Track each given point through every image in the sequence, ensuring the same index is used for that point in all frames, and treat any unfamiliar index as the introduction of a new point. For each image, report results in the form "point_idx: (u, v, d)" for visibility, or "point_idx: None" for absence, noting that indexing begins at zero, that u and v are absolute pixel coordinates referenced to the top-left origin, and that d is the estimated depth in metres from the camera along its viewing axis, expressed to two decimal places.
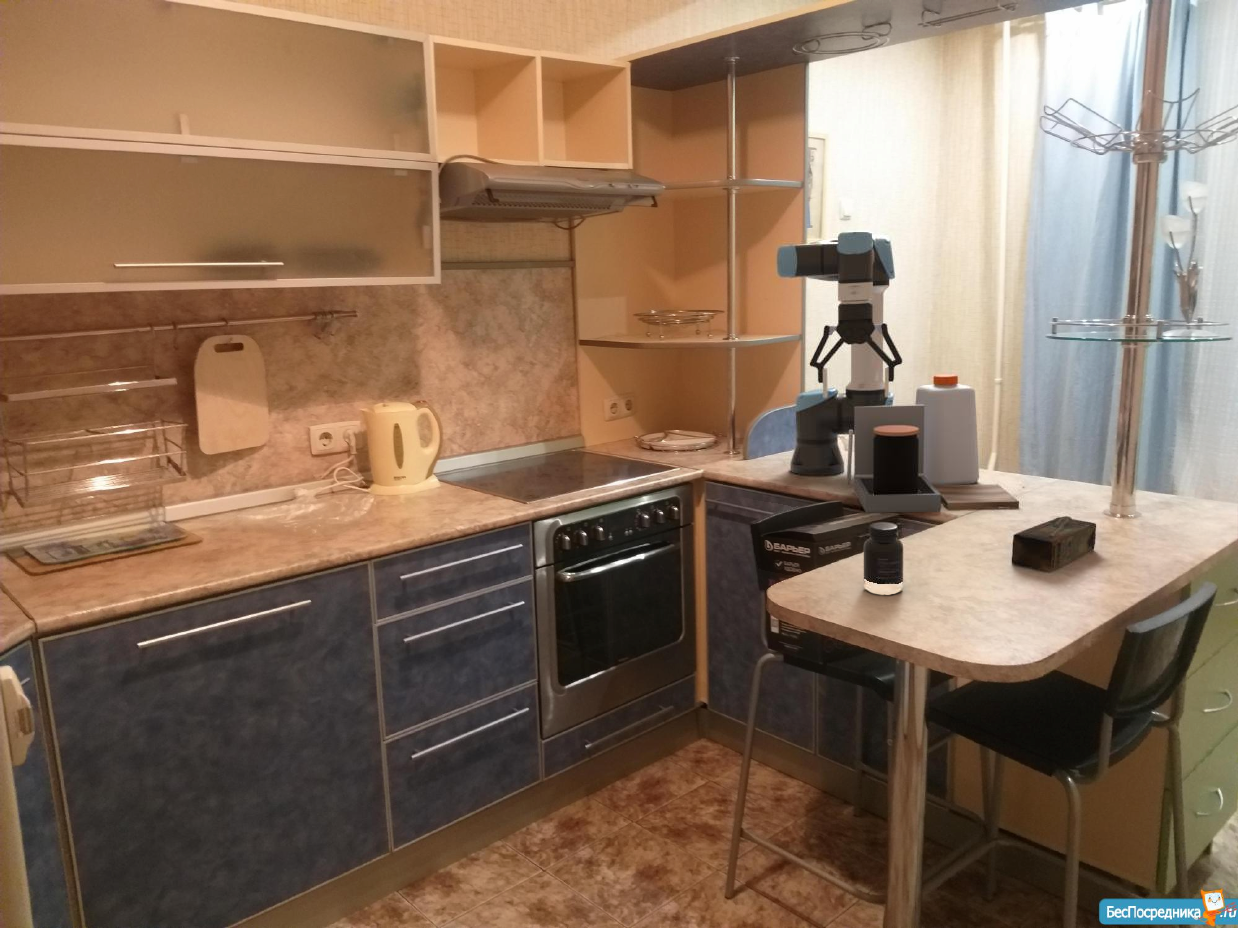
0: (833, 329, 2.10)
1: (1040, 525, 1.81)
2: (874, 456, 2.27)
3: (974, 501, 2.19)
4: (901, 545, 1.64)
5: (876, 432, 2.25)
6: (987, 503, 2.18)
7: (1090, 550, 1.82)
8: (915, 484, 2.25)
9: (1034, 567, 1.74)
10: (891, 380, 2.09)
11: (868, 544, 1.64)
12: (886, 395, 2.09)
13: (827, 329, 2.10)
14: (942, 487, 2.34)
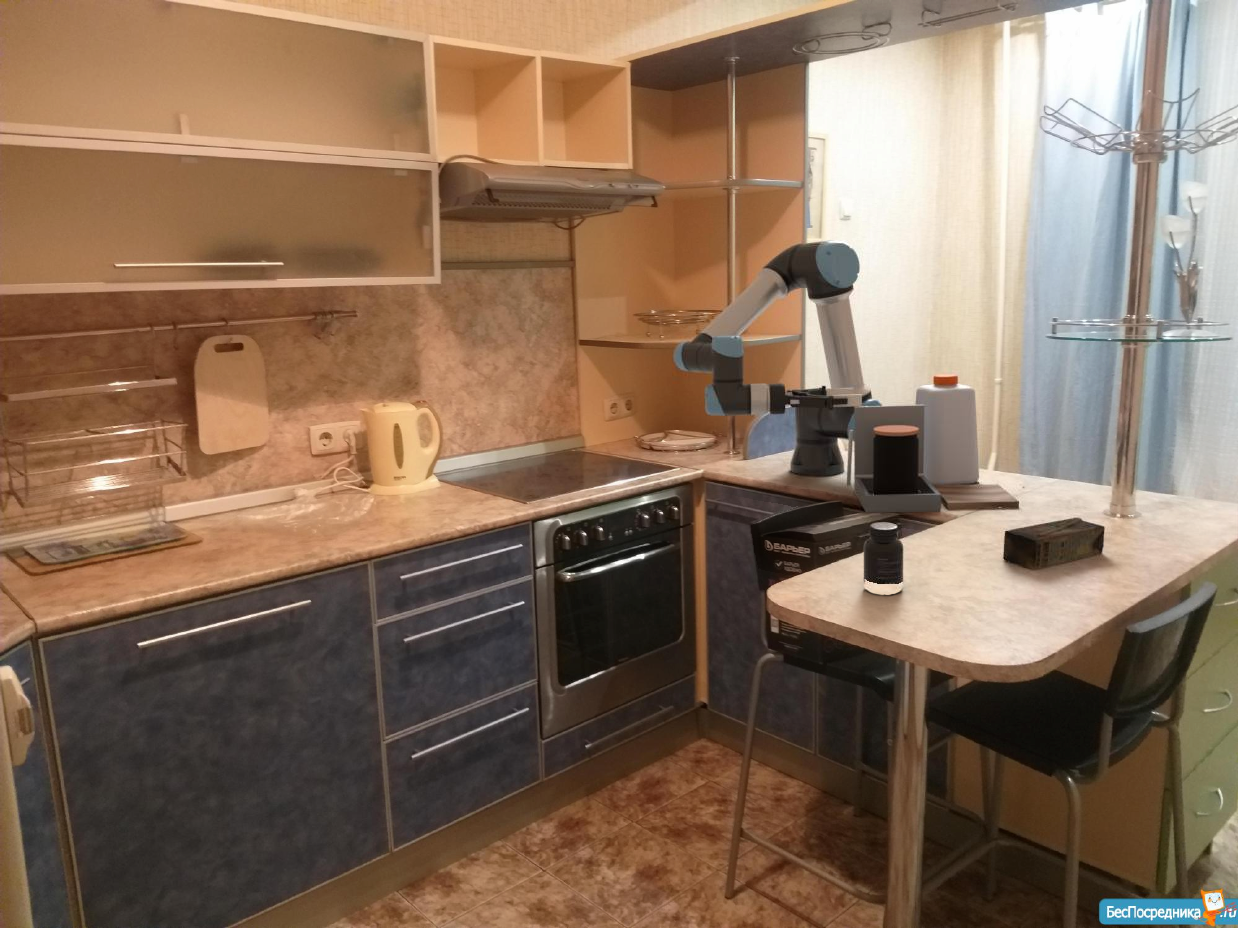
0: None
1: (1041, 524, 1.82)
2: (874, 456, 2.27)
3: (974, 501, 2.19)
4: (901, 545, 1.64)
5: (876, 432, 2.25)
6: (987, 503, 2.18)
7: (1096, 553, 1.80)
8: (915, 484, 2.25)
9: (1021, 564, 1.76)
10: (846, 404, 2.19)
11: (868, 544, 1.64)
12: None
13: None
14: (942, 487, 2.34)
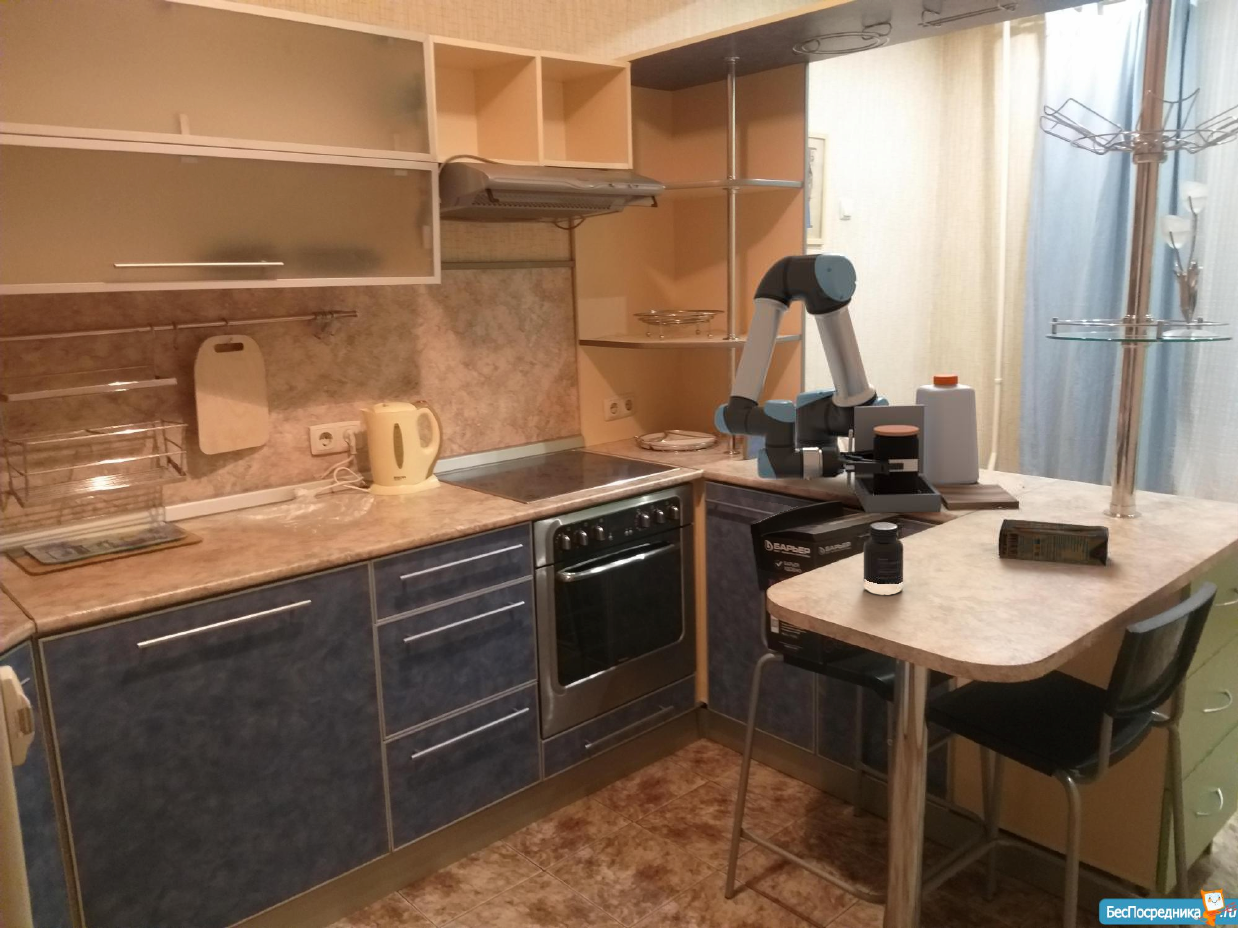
0: None
1: (1053, 523, 1.82)
2: (874, 456, 2.27)
3: (974, 501, 2.19)
4: (901, 545, 1.64)
5: (876, 432, 2.25)
6: (987, 503, 2.18)
7: (1096, 563, 1.74)
8: (915, 484, 2.25)
9: None
10: None
11: (868, 544, 1.64)
12: None
13: None
14: (942, 487, 2.34)
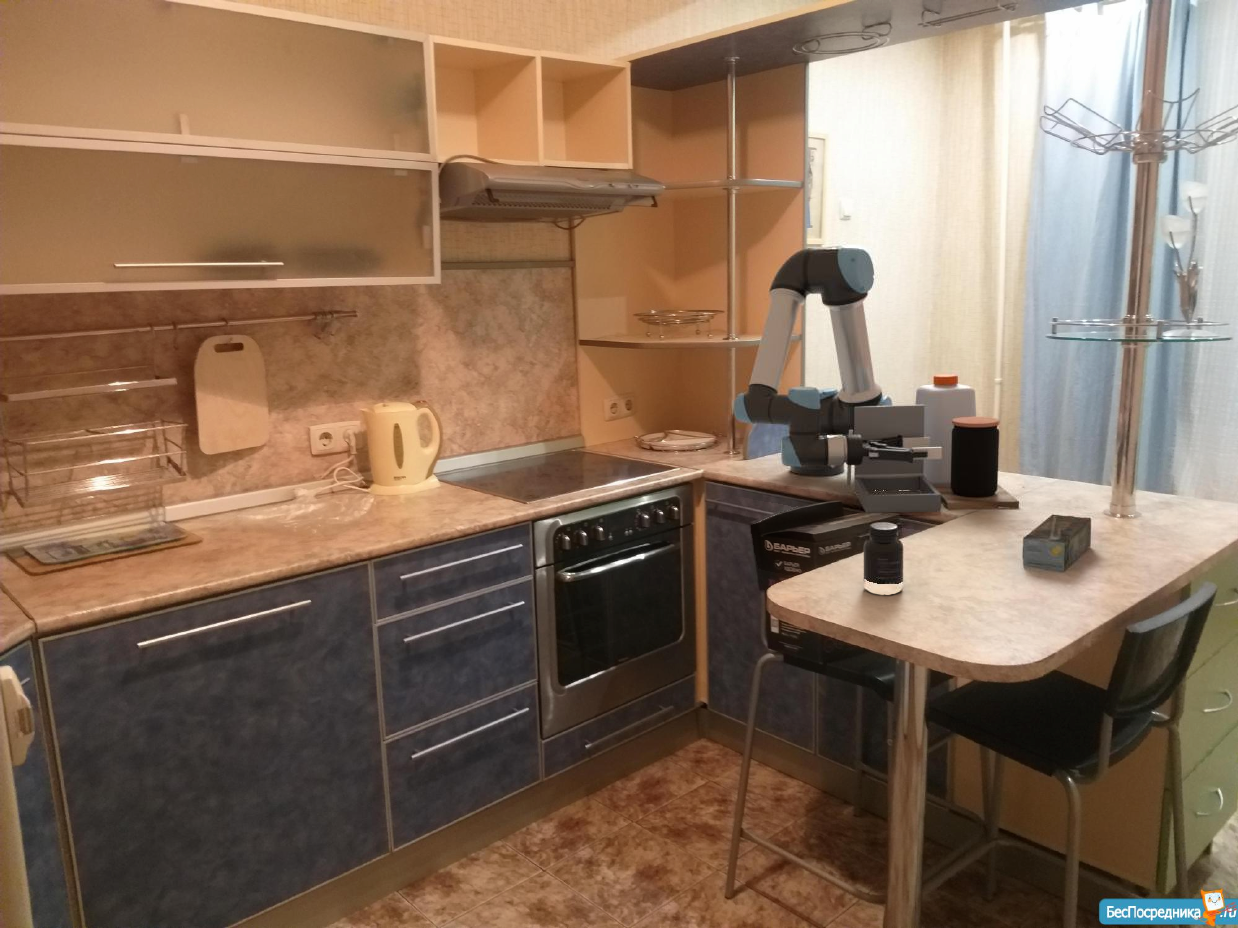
0: None
1: (1074, 528, 1.78)
2: (953, 448, 2.24)
3: (974, 501, 2.19)
4: (901, 545, 1.64)
5: (956, 423, 2.22)
6: (987, 503, 2.18)
7: None
8: (995, 476, 2.22)
9: None
10: None
11: (868, 544, 1.64)
12: None
13: None
14: (942, 487, 2.34)
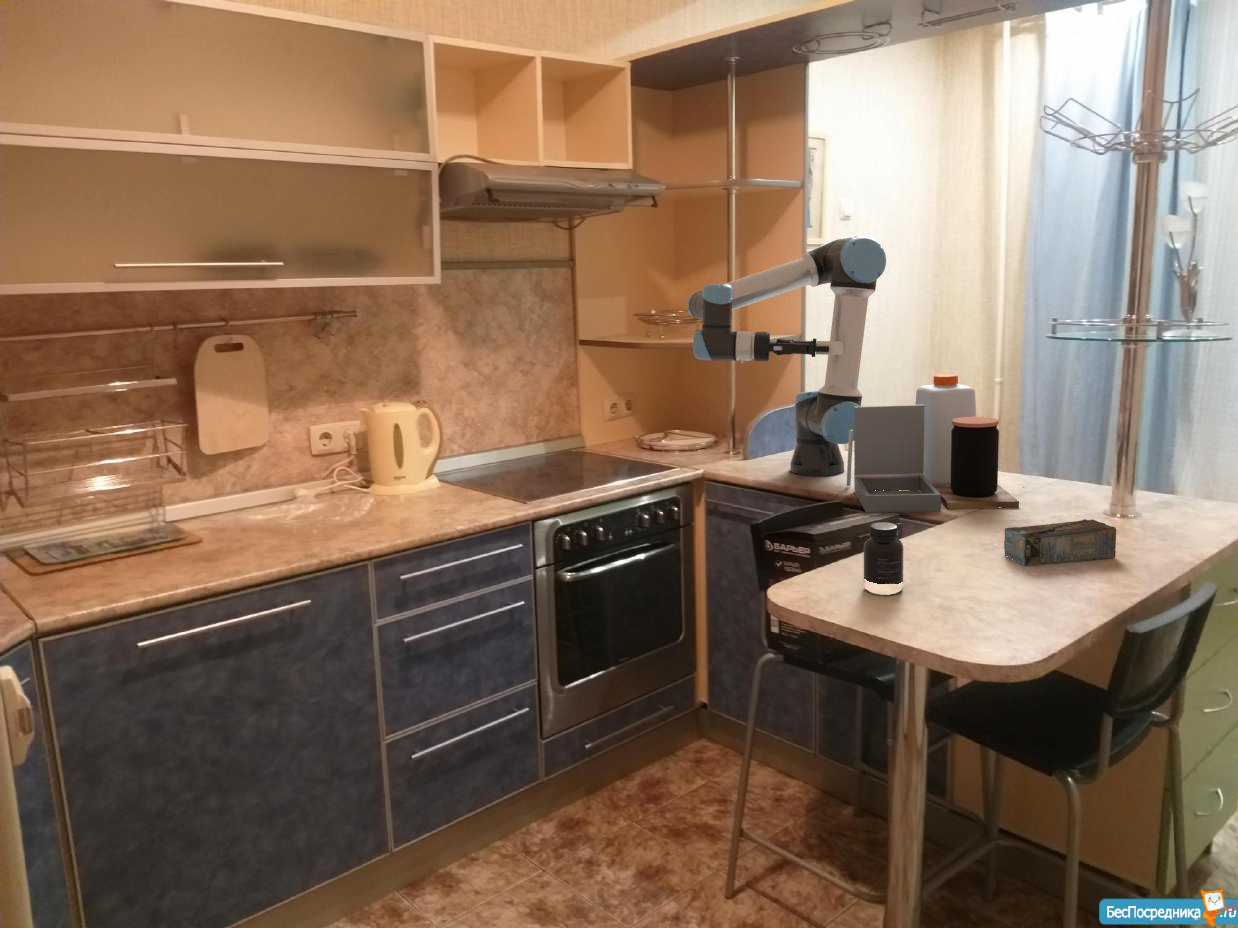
0: None
1: (1069, 530, 1.77)
2: (953, 448, 2.24)
3: (974, 501, 2.19)
4: (901, 545, 1.64)
5: (956, 424, 2.22)
6: (987, 503, 2.18)
7: None
8: (995, 476, 2.22)
9: None
10: (827, 352, 2.30)
11: (868, 544, 1.64)
12: (841, 354, 2.30)
13: None
14: (942, 487, 2.34)
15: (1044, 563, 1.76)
